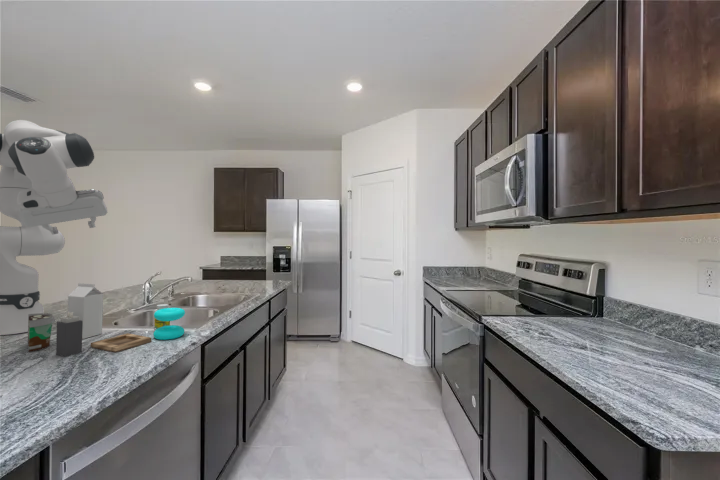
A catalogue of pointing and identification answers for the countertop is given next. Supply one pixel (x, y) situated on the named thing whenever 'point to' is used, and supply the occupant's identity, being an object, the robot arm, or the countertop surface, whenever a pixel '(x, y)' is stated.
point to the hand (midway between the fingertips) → (74, 229)
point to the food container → (39, 330)
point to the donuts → (169, 330)
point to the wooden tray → (120, 342)
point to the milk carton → (87, 308)
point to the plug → (69, 335)
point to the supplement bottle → (161, 323)
